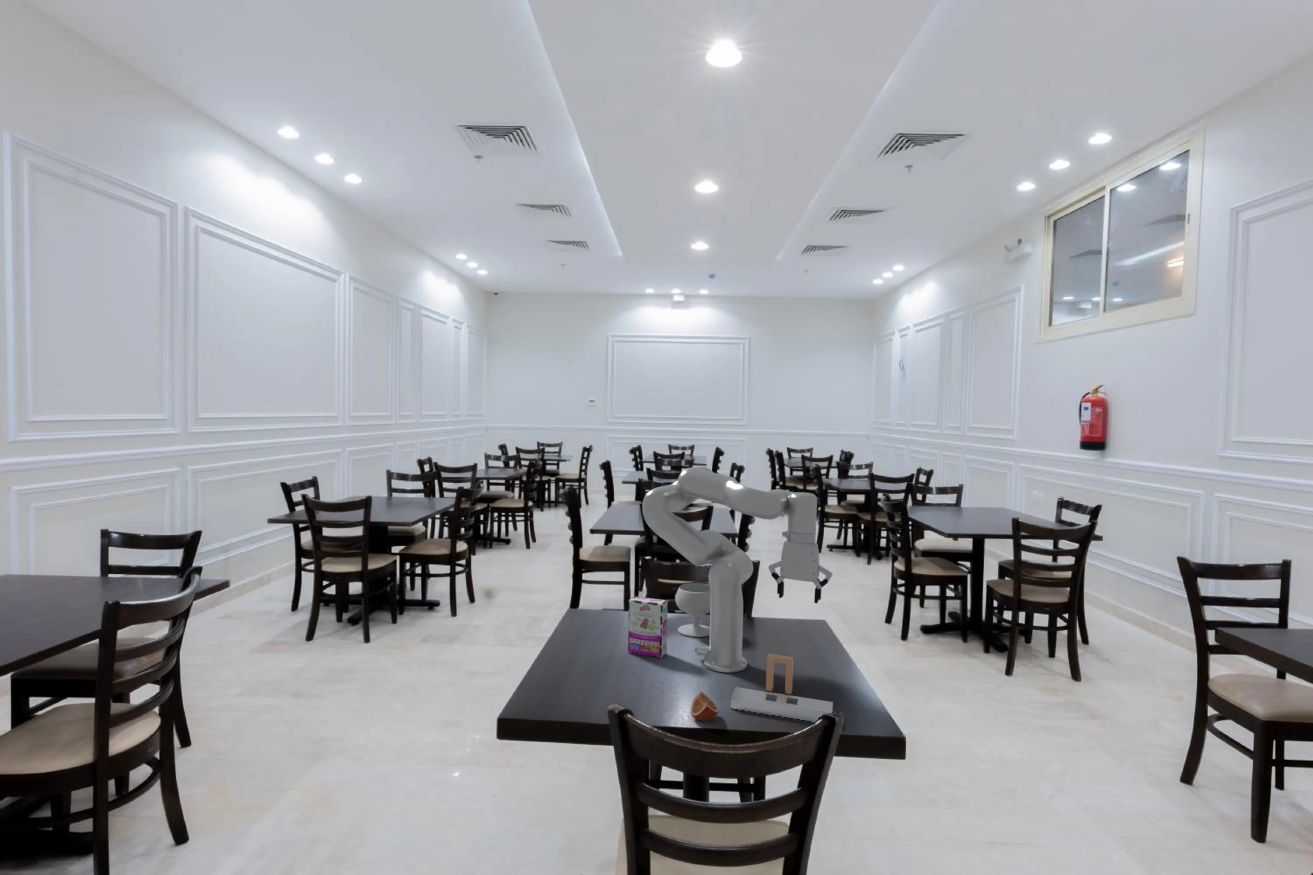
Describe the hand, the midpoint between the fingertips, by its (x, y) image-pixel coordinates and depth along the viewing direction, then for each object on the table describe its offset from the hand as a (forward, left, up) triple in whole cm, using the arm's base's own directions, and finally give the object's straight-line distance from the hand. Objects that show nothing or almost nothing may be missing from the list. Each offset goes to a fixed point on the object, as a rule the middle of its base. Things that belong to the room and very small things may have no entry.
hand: (798, 599), depth 172 cm
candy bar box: (-45, +3, -23) cm, 50 cm away
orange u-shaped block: (-4, -9, -22) cm, 24 cm away
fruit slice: (-19, -31, -23) cm, 43 cm away
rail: (-2, -21, -22) cm, 31 cm away
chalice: (-36, +27, -23) cm, 50 cm away
